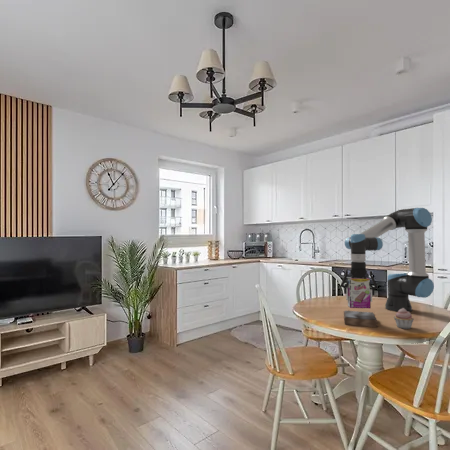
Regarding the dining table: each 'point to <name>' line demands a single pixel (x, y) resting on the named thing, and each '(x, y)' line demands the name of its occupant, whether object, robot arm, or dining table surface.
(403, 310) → the cupcake
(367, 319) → the podium
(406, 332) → the dining table surface
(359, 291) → the candy bar box
